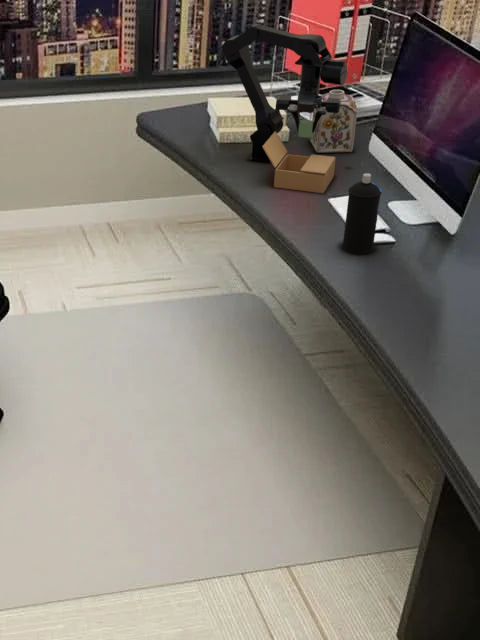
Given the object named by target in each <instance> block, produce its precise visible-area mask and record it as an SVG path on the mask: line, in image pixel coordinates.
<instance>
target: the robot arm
mask: <svg viewBox="0 0 480 640" xmlns="http://www.w3.org/2000/svg"><path fill="white" fill-rule="evenodd" d="M256 41H257V42H261V43H265V44H268V45H271V46H272V45H273V46H275V47H276V46H277V47H279V48H284V49H287V50H290V51H292V52H294V53H295V55H297V56H300V57H299V58H298V59H297V60H296V61H295V62H294V65H297V66H301V67H300V68H301V70H300V81H299V93H298V95H297V99H292V95H278V96H277V99H276V102H275V108H274V107H273V106H271V105H270V103H269V100H268V99H267V97H266V94H265V92H264V89H263V87H262V85H261V83H260V81H259V80H260V79H259V78H258V76H257V74H256V71H255V69H254V67H253V64H252V62H251V50H250V45H251V44H253V43H254V42H256ZM221 53H222V55H223V57H224V59H225V60H226V62H227V64H229V65H230V66H231V67H232V68H233V69H235V71H236V72H237V75H238V77H239V79H240V82H241V84H242V86H243V88H244V90H245V93H246V95H247V98H248V100H249V101H250V105H251V106H252V108H253V110H254V113H255V116H254V117H255V126H256V130H255V131H254V132H253V133H252V134H250V135H249V138H250V142H251V143H252V147H251V157H250V158H249V160H250V161H253V162H261V163H271V161H270V159H269V157H268V156H267V154H266V152H265V151H264V149H263V147H262V146H263V145H264V144H265V143H266V142H267V140H268V139H269V138H270V137H271V136H272V134H273V133H274V132H275V131H276V133H277V134H278V133H280V132H281V131H282V130H283V127H284V121H283V120H284V119H285V118H284V116H283V115H282V113H281V111H286V110H287V113H288V114H291V115H292V117H293V119H294V122H295V127H296V131H297V133H298V132H299V123H300V121H301V114H302V113H307V114H313V112H314V108H315V109H317V111H316V115H315V119H314V124H313V129H312V133H314V130H315V128H316V125H317V123H318V121H319V119H320V117H321V116H322V115H325V114H326V112H328V113H339V110H340V105H341V100H340V99H339V98H328V99H327V101H322V96H321V95H320V87H321V86H320V85H321V82H322V83H323V84H331V85H337V86H344V85H345V83H346V81H347V78H348V74H349V70H348V66H347V61H346V60H345V59H333V56H332V53H331V52H330V51H329V49H328V47H327V42H326V40H325V38H324V36H322V35H321V34H313V33H305V34H304V33H303V34H297V33H292V32H289V31H285V30H282V29H278V28H274V27H270V26H266V25H263V24H261V23H255V24H253V25H252V26H250V27H248V28H247V30H245V31H244V32H242V33H241V34H240V35H239V34H237V35H235V36H233V37H231V38H229V39H226V40H225V41H224V42H223V43H222V45H221Z"/></svg>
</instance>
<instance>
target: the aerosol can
mask: <svg viewBox="0 0 480 640" xmlns="http://www.w3.org/2000/svg"><path fill="white" fill-rule="evenodd" d="M371 179H372V174H371V173H363V174H362V179H361V181H359V182H356V183H354V184H352V185H351V186H350V187H349V188H348V189H347V191H348V198H347V206H346V207H347V208H346V216H345V224H344V234H343V241H342V243H341V248H342V250H344V251H345V252H347V253H349V254H353V255H365V254H370V253H371V252H373V251H374V250H375V237H376V230H377V222H378V215H379V208H380V200H381V195H382V192H383V190H382V189H381V188H380V187H379V185H377V184H376V183H375V182H371Z"/></svg>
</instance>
